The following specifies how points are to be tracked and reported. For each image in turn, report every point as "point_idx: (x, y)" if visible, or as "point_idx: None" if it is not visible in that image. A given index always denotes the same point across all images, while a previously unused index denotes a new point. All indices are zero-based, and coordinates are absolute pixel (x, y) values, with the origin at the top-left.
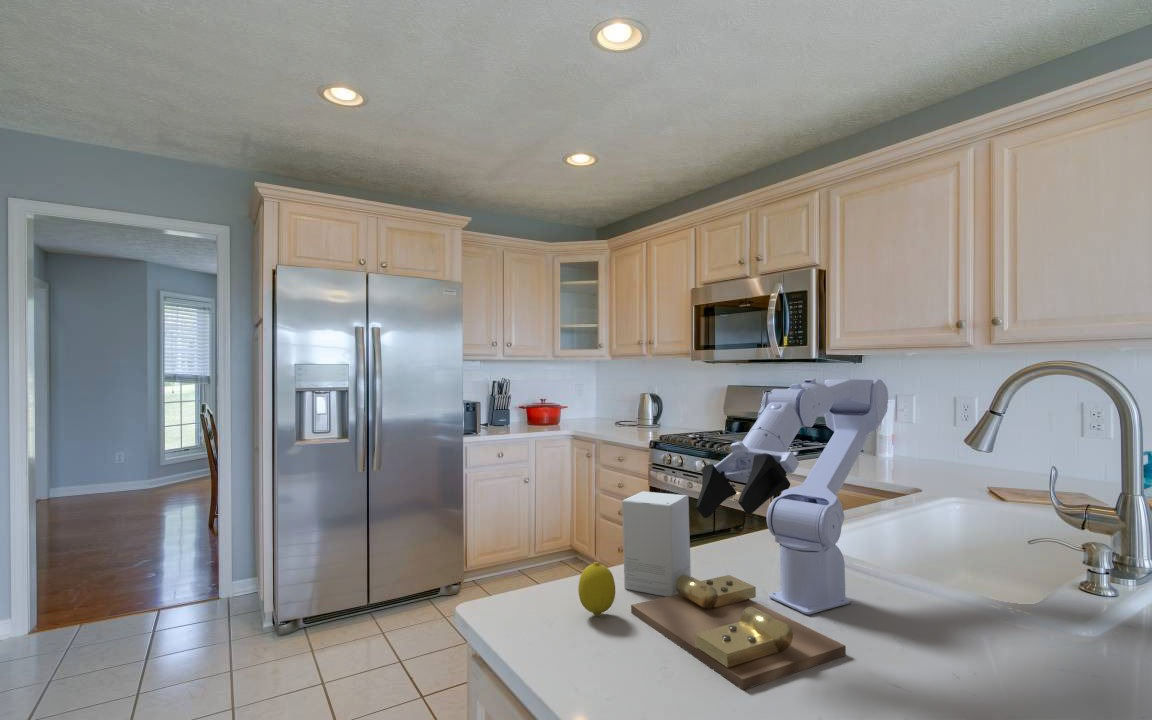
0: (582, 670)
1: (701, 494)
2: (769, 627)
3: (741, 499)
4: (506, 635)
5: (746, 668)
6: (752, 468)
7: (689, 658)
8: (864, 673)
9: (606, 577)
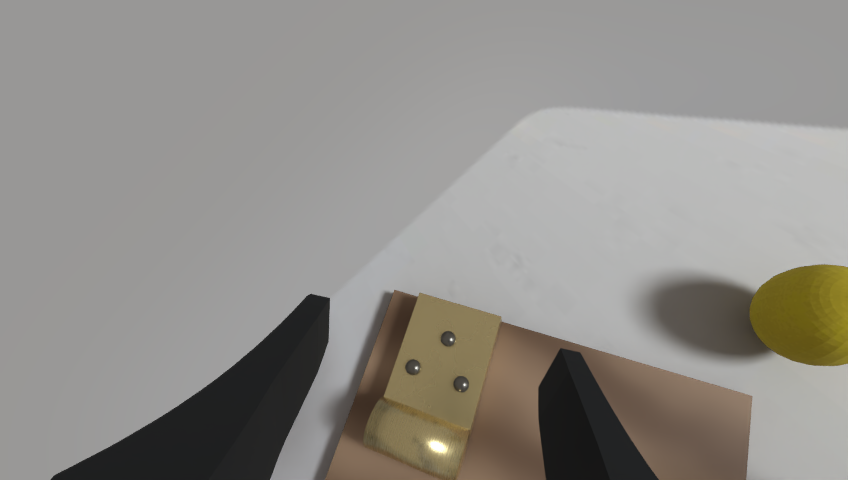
0: (595, 175)
1: (595, 401)
2: (392, 408)
3: (311, 301)
4: (792, 151)
5: (404, 321)
6: (224, 448)
7: (508, 315)
8: (276, 477)
9: (795, 303)
